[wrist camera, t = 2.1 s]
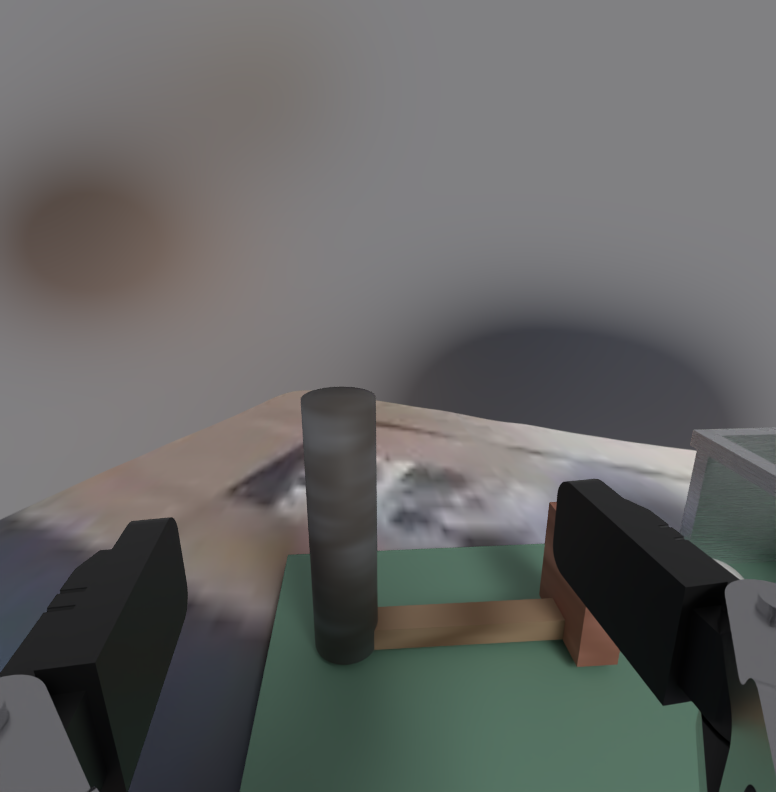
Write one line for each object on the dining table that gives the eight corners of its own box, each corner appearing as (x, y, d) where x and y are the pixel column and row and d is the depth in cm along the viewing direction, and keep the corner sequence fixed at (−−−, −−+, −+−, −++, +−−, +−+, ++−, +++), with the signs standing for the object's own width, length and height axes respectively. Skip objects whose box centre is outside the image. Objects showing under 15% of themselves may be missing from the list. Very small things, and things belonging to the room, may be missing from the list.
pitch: (234, 850, 18) (231, 831, 17) (288, 567, 33) (287, 554, 33) (1087, 781, 20) (1097, 763, 20) (768, 545, 35) (772, 533, 35)
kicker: (311, 682, 23) (294, 418, 19) (318, 605, 27) (306, 382, 23) (617, 664, 24) (663, 409, 20) (573, 593, 28) (602, 376, 24)
